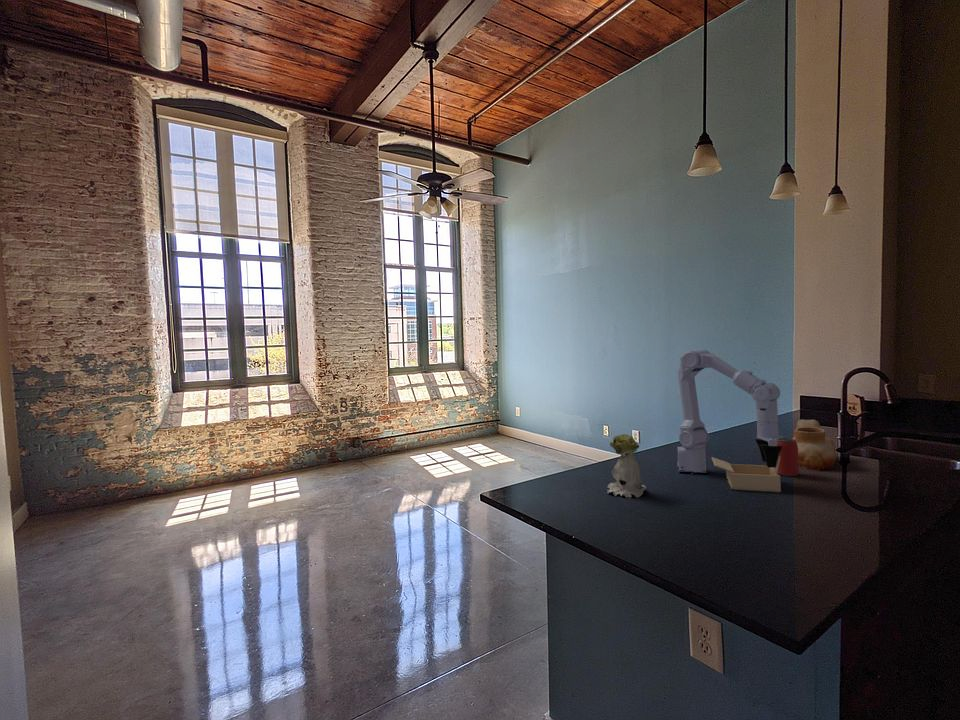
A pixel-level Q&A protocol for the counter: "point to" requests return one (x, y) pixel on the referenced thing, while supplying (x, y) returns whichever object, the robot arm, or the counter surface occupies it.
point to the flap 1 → (722, 464)
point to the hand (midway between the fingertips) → (768, 464)
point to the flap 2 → (776, 466)
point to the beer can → (788, 457)
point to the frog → (626, 468)
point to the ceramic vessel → (813, 445)
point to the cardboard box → (753, 478)
